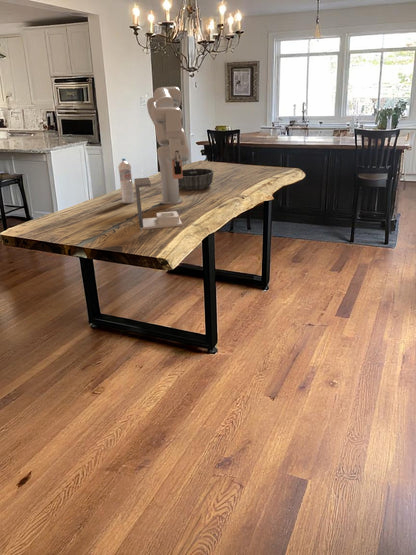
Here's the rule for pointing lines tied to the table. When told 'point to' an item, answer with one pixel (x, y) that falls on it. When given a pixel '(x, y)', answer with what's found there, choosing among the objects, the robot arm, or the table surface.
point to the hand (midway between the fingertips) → (177, 172)
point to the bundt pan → (195, 179)
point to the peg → (174, 170)
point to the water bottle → (126, 182)
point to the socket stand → (162, 220)
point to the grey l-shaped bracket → (139, 183)
